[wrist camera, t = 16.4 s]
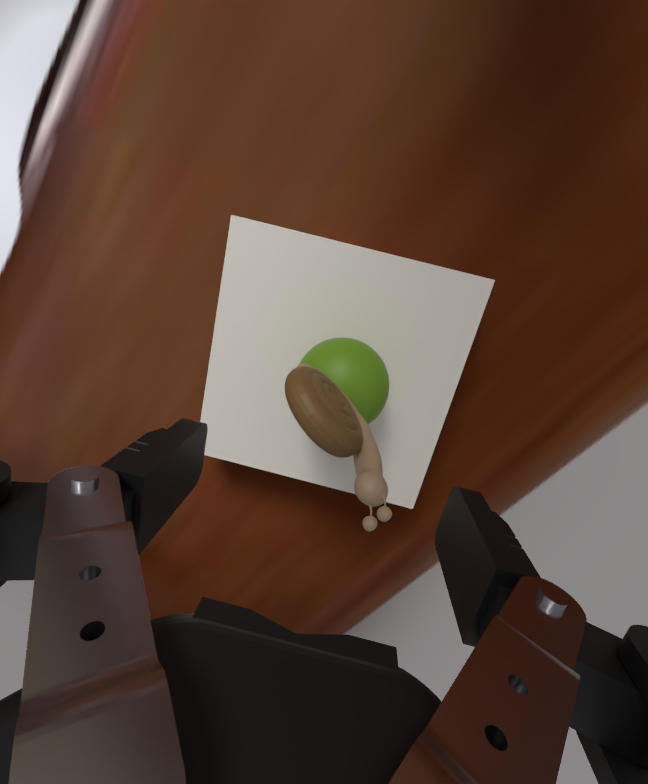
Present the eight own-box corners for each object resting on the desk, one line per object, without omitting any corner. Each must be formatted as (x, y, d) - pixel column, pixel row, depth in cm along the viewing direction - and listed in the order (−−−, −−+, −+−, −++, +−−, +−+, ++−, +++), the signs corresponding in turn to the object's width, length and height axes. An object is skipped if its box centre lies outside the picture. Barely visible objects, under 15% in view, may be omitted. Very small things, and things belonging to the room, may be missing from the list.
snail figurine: (351, 441, 25) (325, 566, 14) (288, 369, 25) (205, 439, 13) (416, 391, 24) (446, 486, 12) (350, 314, 23) (317, 338, 12)
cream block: (253, 226, 27) (231, 214, 22) (470, 280, 27) (495, 280, 22) (220, 427, 32) (195, 452, 27) (404, 474, 31) (412, 509, 27)
